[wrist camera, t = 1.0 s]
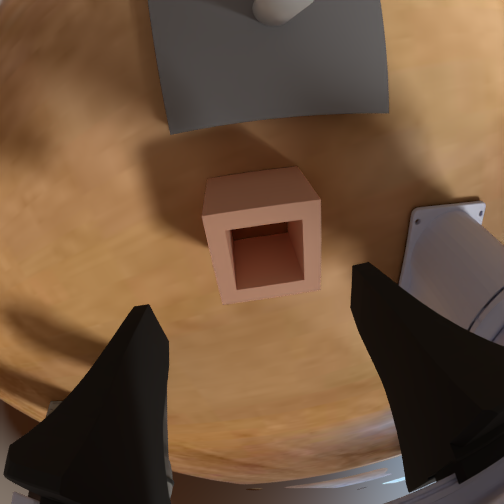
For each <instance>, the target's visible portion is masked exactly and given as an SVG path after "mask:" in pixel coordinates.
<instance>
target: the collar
mask: <svg viewBox="0 0 504 504" xmlns="http://www.w3.org/2000/svg"><path fill="white" fill-rule="evenodd" d="M202 220H203V224H204V229H205V233H206V238H207V242H208V246H209V250H210V255H211V259H212V263H213V267H214V271H215V276H216V280H217V284H218V288H219V292H220V296H221V300H222V304H223V305H225V304H232V303H239V302H246V301H253V300H260V299H267V298H274V297H280V296H287V295H293V294H299V293H305V292H311V291H317V290H321V199H320V198H319V196H318V195H317V193H316V192H315V190H314V189H313V187H312V186H311V184H310V183H309V182H308V180H307V179H306V177H305V176H304V175H303V173H302V172H301V170H300V169H299V168H298V166H294V167H286V168H277V169H269V170H262V171H254V172H247V173H240V174H233V175H227V176H220V177H214V178H208V179H207V184H206V190H205V197H204V204H203V211H202ZM281 222H287V228H288V233H282V234H275V235H268V236H261V237H254V238H248V239H241V240H233V234H232V229H239V228H246V227H252V226H259V225H266V224H273V223H281Z"/></svg>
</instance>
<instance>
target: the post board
mask: <svg viewBox="0 0 504 504" xmlns="http://www.w3.org/2000/svg"><path fill="white" fill-rule="evenodd" d="M148 6H149V13H150V20H151V27H152V34H153V41H154V47H155V53H156V60H157V66H158V71H159V77H160V83H161V88H162V94H163V99H164V105H165V110H166V115H167V120H168V125H169V130H170V135H172V134H177V133H182V132H187V131H192V130H198V129H203V128H209V127H215V126H221V125H228V124H234V123H241V122H249V121H257V120H265V119H274V118H285V117H296V116H309V115H326V114H353V113H389V92H388V71H387V56H386V44H385V34H384V25H383V17H382V10H381V3H380V0H148Z"/></svg>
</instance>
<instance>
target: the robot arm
mask: <svg viewBox="0 0 504 504" xmlns="http://www.w3.org/2000/svg"><path fill="white" fill-rule="evenodd" d="M485 207H486V205H485V203H484V202H483V201H475V202H465V203H455V204H445V205H436V206H427V207H418V208H415V209H414V210H413V211H412V213H411V219H410V226H409V232H408V238H407V244H406V250H405V255H404V261H403V266H402V271H401V275H400V280H399V285H398V284H396V283H395V282H394V281H392V280H391V279H390V278H389V277H387V276H386V275H385V274H383V273H382V272H381V271H380V270H378V269H377V268H376V267H374V266H373V265H372V264H370V263H369V262H367V263H362V264H358V265H353V266H352V289H351V306H350V308H351V311H352V314H353V317H354V320H355V323H356V326H357V329H358V331H359V334H360V336H361V338H362V340H363V342H364V344H365V346H366V349H367V351H368V353H369V355H370V357H371V359H372V361H373V363H374V366H375V368H376V370H377V372H378V374H379V376H380V379H381V381H382V383H383V386H384V389H385V391H386V395H387V398H388V401H389V404H390V408H391V411H392V415H393V419H394V422H395V426H396V430H397V435H398V439H399V444H400V448H401V453H402V459H403V466H404V472H405V480H406V485H407V488H408V492H412V491H414V490H417V489H419V488H422V487H424V486H426V485H428V484H430V483H432V482H435V481H436V483H434V484H431V485H429V486H427V487H425V488H423V489H420V490H418V491H416V492H413V493H411V494H408V495H406V496H404V497H401V498H398V499H396V500H393V501H390V502H387V503H384V504H504V245H503V244H502V243H501V242H500V241H498V240H497V239H496V238H495V237H494V236H493V235H492V234H491V233H490V232H489V231H487V230H486V229H485V228H484V227H483V226H482V225H481V224H482V220H483V216H484V212H485ZM479 212H480V213H479ZM417 219H418V221H417V222H415V221H416V220H417ZM168 371H169V341H168V339H167V337H166V335H165V333H164V331H163V330H162V328H161V326H160V324H159V322H158V320H157V318H156V317H155V315H154V313H153V311H152V309H151V307H150V305H149V304H147V305H141V306H135V307H133V309H132V310H131V311H130V313H129V314H128V316H127V317H126V319H125V320H124V321H123V323H122V324H121V326H120V327H119V329H118V330H117V332H116V333H115V335H114V336H113V338H112V339H111V341H110V342H109V344H108V345H107V346H106V348H105V349H104V351H103V352H102V354H101V355H100V356H99V358H98V359H97V360H96V362H95V363H94V364H93V366H92V367H91V369H90V370H89V371H88V373H87V374H86V375H85V376H84V378H83V379H82V380H81V381H80V383H79V384H78V385H77V386H76V387H75V388H74V390H73V391H72V392H71V393H70V394H69V395H68V396H67V397H66V398H65V399H64V400H63V401H62V402H61V403H60V404H59V405H58V406H57V408H56V409H55V410H54V411H53V412H52V413H50V414H49V415H48V416H47V417H46V418H45V419H44V420H43V421H42V422H40V423H39V424H38V425H37V426H36V427H34V428H33V429H32V430H31V431H29V433H27V434H25V435H24V436H22V437H21V438H20V439H18V440H17V441H15V442H14V443H13V444H11V445H10V446H9V450H8V455H7V459H6V464H5V469H4V476H5V477H6V478H7V479H8V480H10V481H12V482H14V483H15V484H17V485H19V486H21V487H23V488H25V489H27V490H29V491H31V492H33V493H35V494H37V495H40V496H41V498H40V501H37V500H35V499H32V498H30V497H27V496H25V495H22V494H20V493H17V492H13V497H12V503H11V504H171V502H170V497H169V491H168V485H167V477H166V470H165V458H164V442H163V417H164V407H165V398H166V389H167V380H168Z"/></svg>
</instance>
